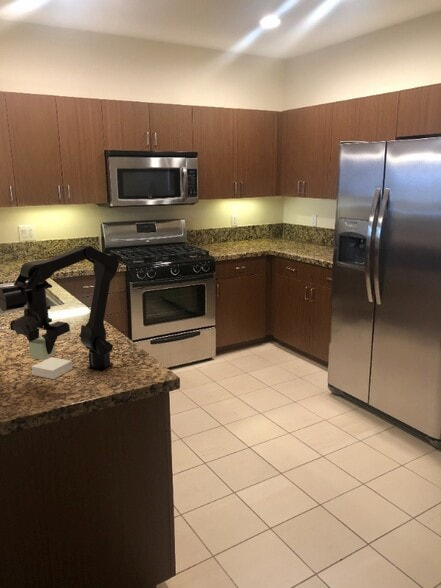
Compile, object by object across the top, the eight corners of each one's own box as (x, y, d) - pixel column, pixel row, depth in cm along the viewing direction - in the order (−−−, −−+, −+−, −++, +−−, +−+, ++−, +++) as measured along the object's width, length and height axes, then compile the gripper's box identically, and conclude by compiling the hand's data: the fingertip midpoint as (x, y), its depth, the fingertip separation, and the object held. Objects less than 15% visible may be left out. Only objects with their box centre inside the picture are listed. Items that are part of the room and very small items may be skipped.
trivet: (72, 369, 161) (71, 360, 160) (53, 379, 153) (52, 370, 152) (51, 365, 165) (51, 357, 164) (32, 375, 157) (31, 366, 156)
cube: (54, 354, 148) (53, 339, 147) (43, 359, 144) (41, 344, 142) (42, 352, 150) (40, 337, 149) (30, 357, 146) (28, 342, 144)
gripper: (-8, 308, 139) (-1, 357, 143) (41, 314, 132) (47, 366, 136) (21, 299, 149) (27, 345, 153) (68, 304, 142) (73, 353, 146)
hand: (42, 352), depth 147 cm, fingers closed on cube, 5 cm apart
